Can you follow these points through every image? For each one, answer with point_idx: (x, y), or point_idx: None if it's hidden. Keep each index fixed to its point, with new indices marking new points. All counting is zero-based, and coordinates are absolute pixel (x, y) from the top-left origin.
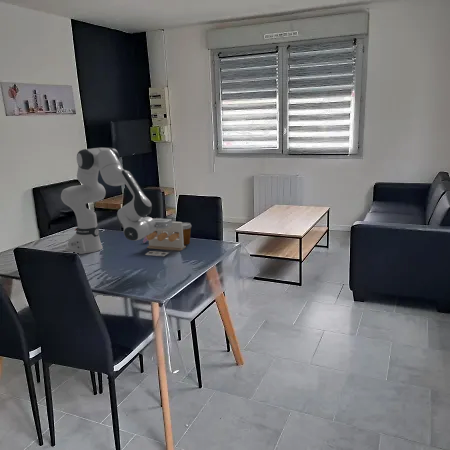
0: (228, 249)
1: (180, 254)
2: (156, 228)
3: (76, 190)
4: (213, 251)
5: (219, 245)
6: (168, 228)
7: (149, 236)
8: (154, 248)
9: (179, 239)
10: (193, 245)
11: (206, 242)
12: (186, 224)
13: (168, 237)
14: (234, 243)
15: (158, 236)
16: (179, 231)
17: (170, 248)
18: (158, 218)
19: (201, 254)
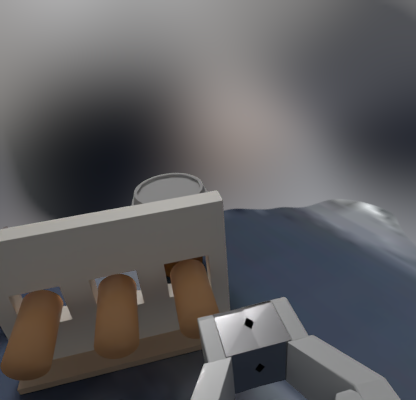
0: (401, 246)
1: (284, 390)
2: (50, 272)
3: None
4: (379, 283)
5: (327, 231)
6: (138, 251)
7: (27, 360)
8: (72, 380)
9: (213, 286)
10: (235, 266)
11: (255, 229)
12: (179, 184)
13: (181, 323)
14: (350, 204)
15: (103, 339)
16: (213, 249)
17: (173, 348)
18: (258, 335)
19: (379, 336)
